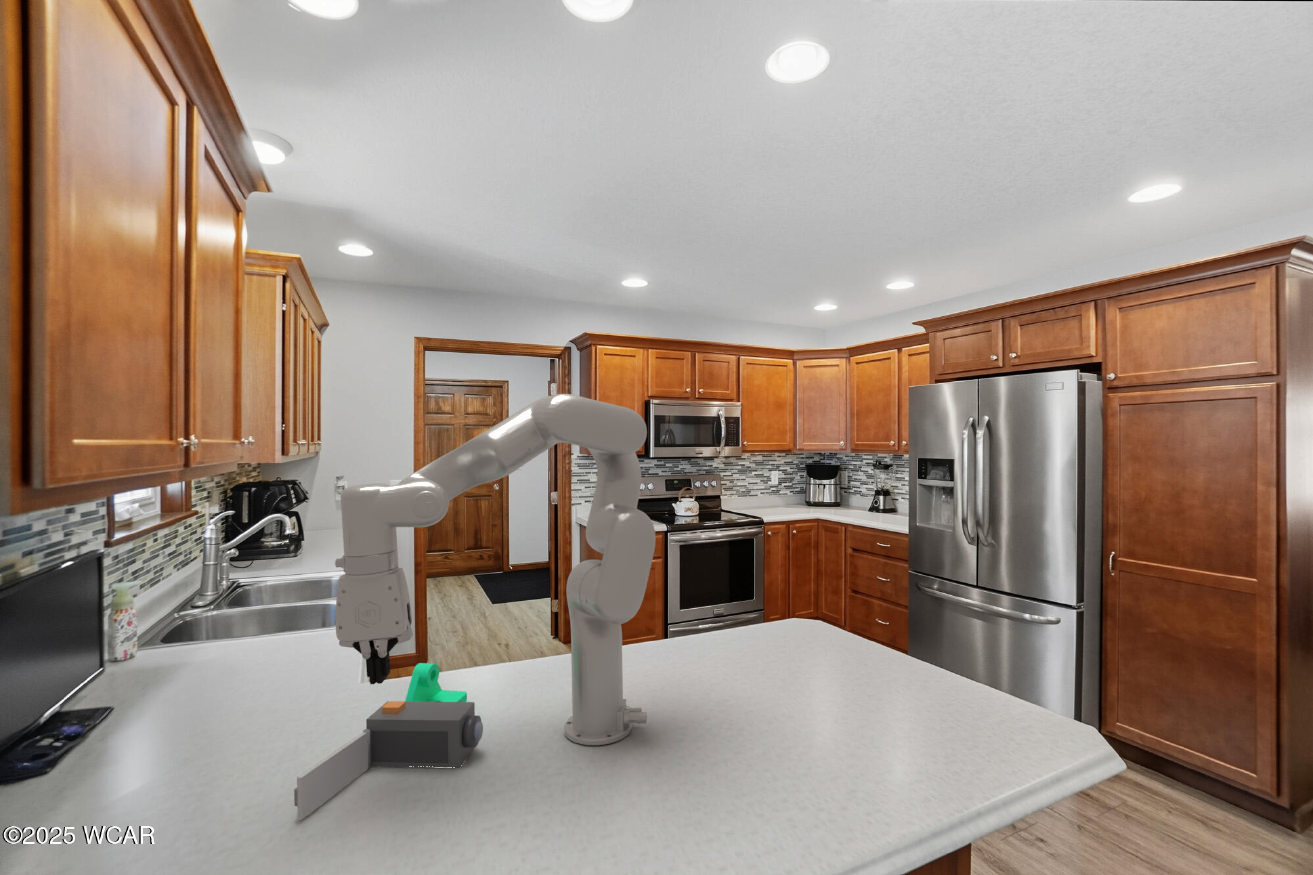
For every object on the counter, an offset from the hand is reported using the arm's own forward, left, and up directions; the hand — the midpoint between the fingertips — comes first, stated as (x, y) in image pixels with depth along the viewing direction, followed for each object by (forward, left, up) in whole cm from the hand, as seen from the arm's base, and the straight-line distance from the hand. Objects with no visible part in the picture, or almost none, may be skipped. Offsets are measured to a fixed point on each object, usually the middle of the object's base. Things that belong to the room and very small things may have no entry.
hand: (379, 680), depth 94 cm
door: (+7, 0, -17) cm, 19 cm away
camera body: (-3, -10, -17) cm, 21 cm away
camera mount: (+3, -26, -18) cm, 32 cm away
